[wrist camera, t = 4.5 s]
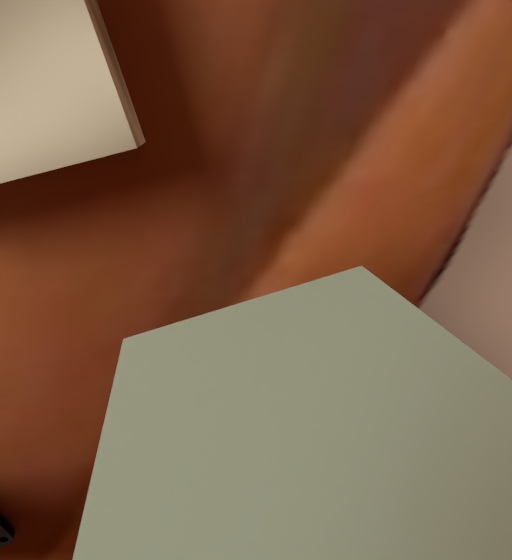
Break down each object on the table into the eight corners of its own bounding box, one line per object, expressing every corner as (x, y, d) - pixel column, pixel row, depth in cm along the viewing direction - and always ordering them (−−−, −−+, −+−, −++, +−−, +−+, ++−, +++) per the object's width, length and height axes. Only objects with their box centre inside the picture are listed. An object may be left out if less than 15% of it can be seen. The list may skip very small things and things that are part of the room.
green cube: (377, 429, 11) (558, 703, 6) (198, 493, 11) (223, 858, 5) (361, 265, 9) (666, 496, 3) (123, 338, 8) (26, 760, 3)
